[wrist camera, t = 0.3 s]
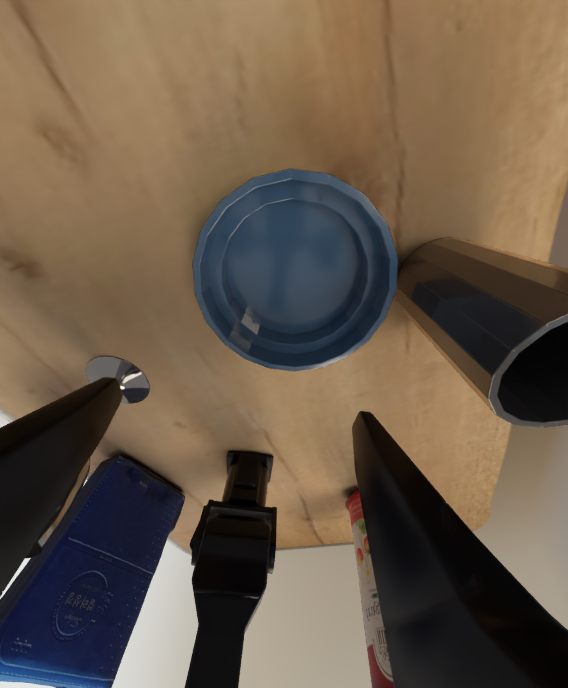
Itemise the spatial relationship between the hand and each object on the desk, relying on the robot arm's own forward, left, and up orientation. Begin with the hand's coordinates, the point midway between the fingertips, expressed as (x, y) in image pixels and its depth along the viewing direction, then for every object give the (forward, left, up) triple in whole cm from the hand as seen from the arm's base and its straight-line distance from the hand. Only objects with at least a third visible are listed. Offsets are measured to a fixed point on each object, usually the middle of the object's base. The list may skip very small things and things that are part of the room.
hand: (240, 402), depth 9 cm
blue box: (-34, +17, -15) cm, 41 cm away
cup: (+2, -14, -14) cm, 20 cm away
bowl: (+1, -2, -14) cm, 15 cm away
